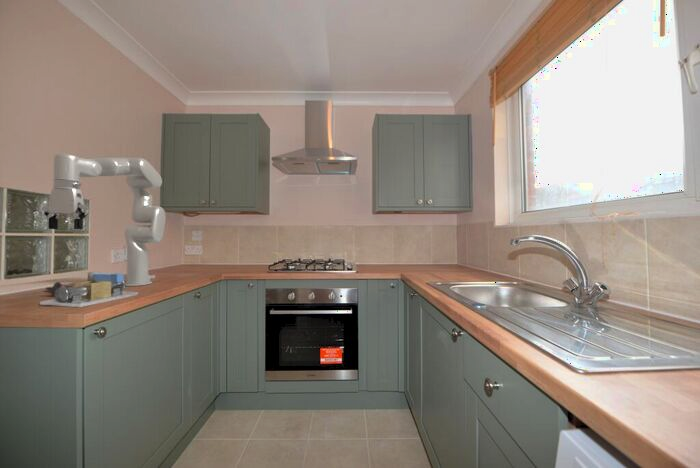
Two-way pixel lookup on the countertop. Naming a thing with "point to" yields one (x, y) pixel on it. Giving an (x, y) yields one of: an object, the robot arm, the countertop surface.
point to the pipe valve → (88, 293)
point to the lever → (105, 277)
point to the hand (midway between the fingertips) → (65, 229)
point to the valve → (57, 287)
